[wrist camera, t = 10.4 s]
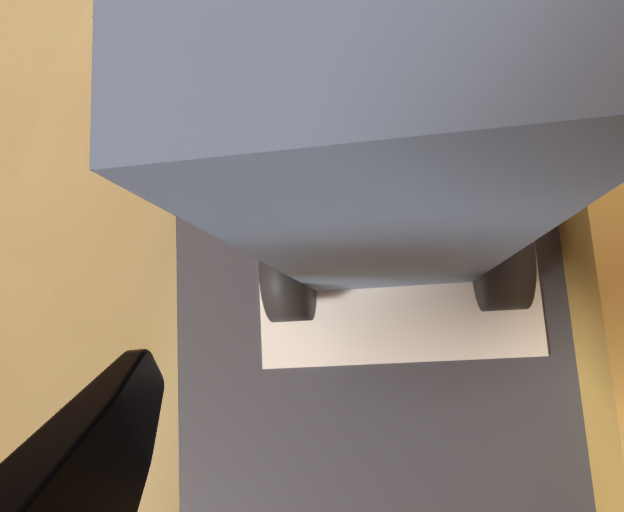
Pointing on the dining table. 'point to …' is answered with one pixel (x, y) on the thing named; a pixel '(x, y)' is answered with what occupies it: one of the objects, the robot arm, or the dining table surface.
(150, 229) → the dining table surface
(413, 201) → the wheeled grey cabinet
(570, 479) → the wooden frame
